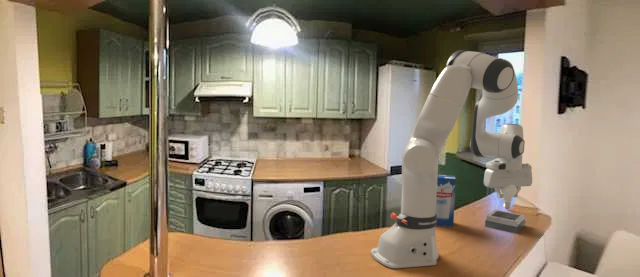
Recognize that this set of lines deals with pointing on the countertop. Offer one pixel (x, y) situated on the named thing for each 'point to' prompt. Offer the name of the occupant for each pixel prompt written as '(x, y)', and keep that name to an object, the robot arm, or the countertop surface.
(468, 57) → the robot arm
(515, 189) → the lightbulb
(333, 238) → the countertop surface
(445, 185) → the milk carton
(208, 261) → the countertop surface
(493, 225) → the socket
